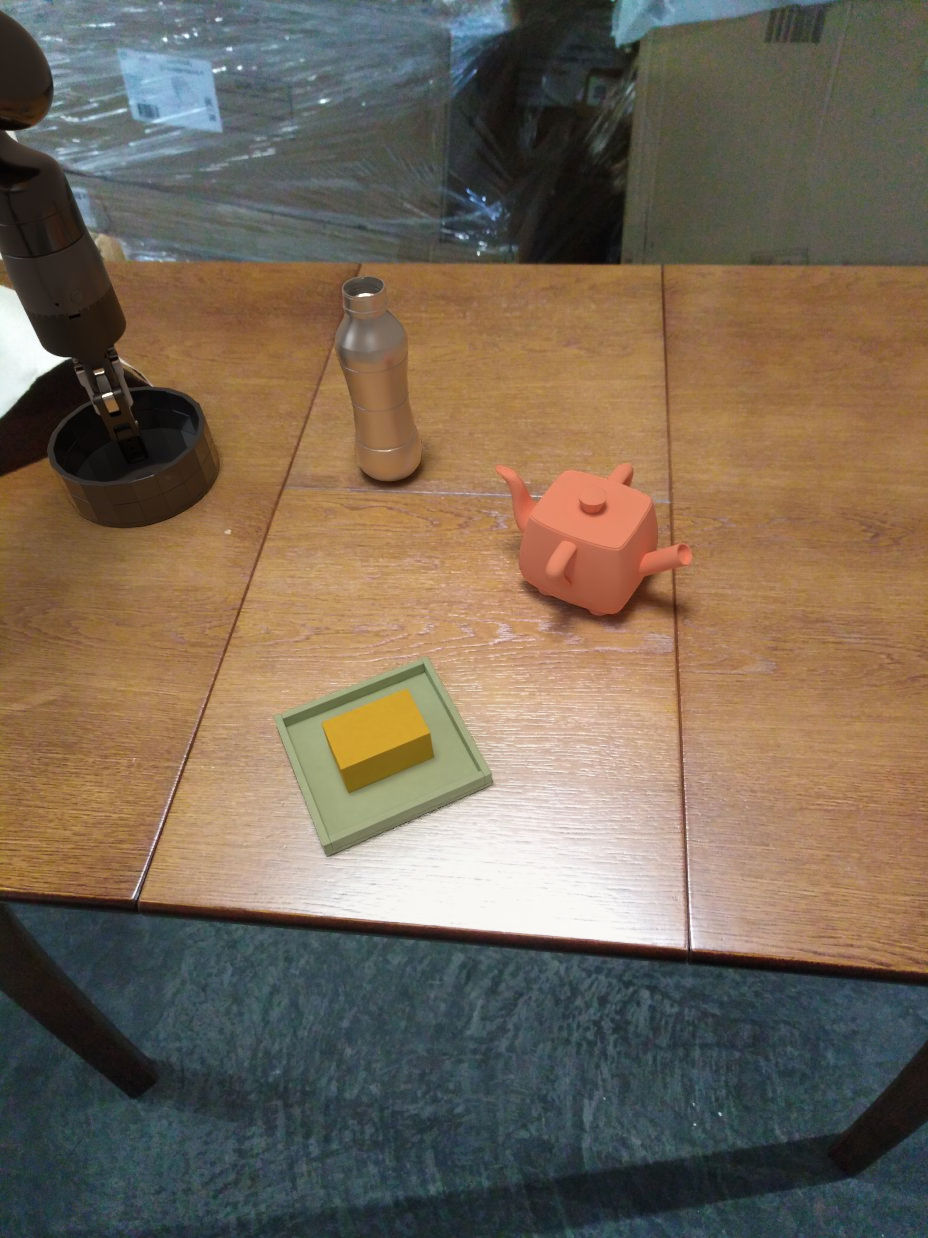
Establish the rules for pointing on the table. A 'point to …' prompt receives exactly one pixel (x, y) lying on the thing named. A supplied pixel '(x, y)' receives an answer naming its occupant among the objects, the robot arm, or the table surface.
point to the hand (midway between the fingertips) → (132, 443)
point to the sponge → (378, 740)
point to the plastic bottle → (377, 381)
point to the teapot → (590, 538)
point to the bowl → (144, 488)
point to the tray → (396, 795)
